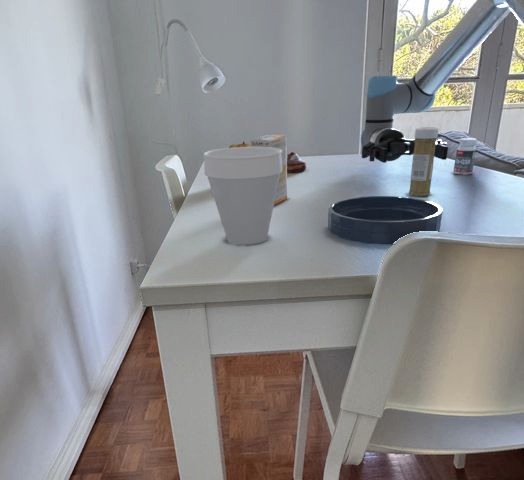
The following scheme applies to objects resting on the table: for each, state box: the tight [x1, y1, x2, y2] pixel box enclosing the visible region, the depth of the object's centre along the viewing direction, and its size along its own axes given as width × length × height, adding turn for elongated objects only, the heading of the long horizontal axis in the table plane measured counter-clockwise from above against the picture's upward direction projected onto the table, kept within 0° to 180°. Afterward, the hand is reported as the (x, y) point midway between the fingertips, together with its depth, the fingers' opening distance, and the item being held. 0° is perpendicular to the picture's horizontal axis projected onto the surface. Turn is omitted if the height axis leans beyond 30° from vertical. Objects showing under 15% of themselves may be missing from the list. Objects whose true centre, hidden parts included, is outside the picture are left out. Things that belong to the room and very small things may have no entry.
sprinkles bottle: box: [408, 126, 439, 197], centre depth 101 cm, size 5×5×13 cm
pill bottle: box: [452, 137, 478, 176], centre depth 123 cm, size 5×5×8 cm
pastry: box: [287, 151, 307, 173], centre depth 137 cm, size 8×8×5 cm
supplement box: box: [249, 134, 288, 206], centre depth 100 cm, size 8×5×13 cm, turn 154°
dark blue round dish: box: [327, 195, 444, 245], centre depth 79 cm, size 18×18×4 cm
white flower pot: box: [202, 147, 283, 246], centre depth 76 cm, size 12×12×14 cm
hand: (415, 154), depth 104 cm, fingers open, 13 cm apart
